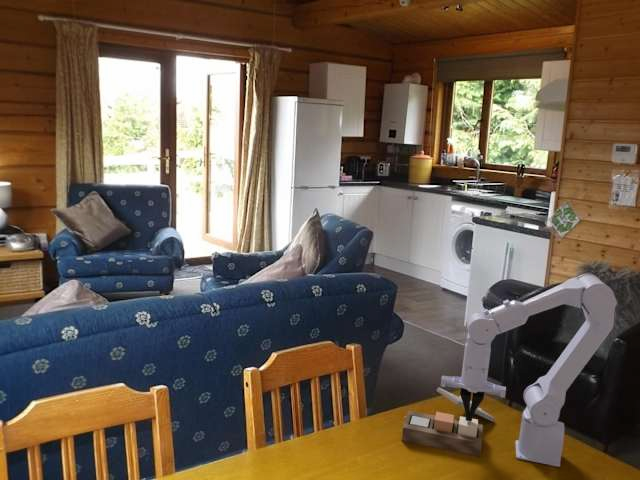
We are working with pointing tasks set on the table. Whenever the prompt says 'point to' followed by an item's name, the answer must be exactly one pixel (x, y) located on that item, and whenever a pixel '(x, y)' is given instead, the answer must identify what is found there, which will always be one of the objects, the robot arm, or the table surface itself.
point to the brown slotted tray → (441, 436)
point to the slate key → (420, 422)
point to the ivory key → (468, 427)
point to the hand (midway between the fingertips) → (468, 419)
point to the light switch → (459, 402)
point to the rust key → (443, 422)
